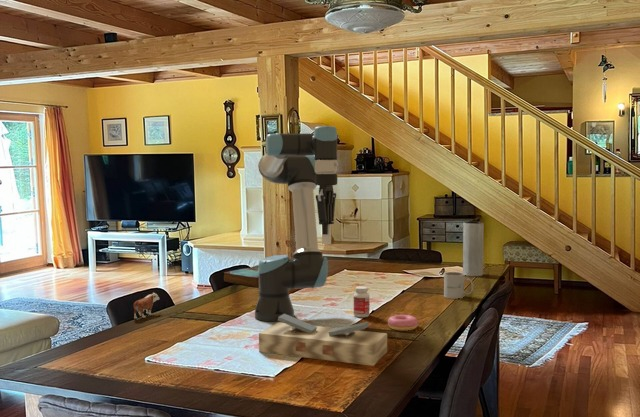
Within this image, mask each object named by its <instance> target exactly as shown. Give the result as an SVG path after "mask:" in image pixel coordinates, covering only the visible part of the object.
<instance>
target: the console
mask: <svg viewBox="0 0 640 417" xmlns="http://www.w3.org/2000/svg"><path fill="white" fill-rule="evenodd" d="M315 326H316V327H317V329H316V331H315V332H313V333H312V334H309V333H307V332H304V331H302V330H300V329H297V328H296V329H294V330H293V329H292V326H290V325H288V324H285V323H283V322H281V321H277V322H276V323H275V324H273V325H271V326H269V327H267V328H265V329H264V330H262V331H260V332H259V333H258V352H259V353H265V354H274V355H283V356H291V357H300V358H307V359H315V360H322V361H332V362H340V363H347V364H355V365H356V364H357V365H362V366H363V365H364V366H370V367H374V366H375V365H376V364H377V363H378V362H379V361H380V360H381V359H382V358H383V357H384V356H385V355H386V354H387V353H388V333H387V332H380V331H379V332H376V331H368V330H357V331H352V332H351V333H350V334H349V335H345V333H343V334H338V335H333V336H329V333H328V332H330V331H331V330H332V329H335V328H336V327H329V326H319V325H315Z"/></svg>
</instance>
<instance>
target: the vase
mask: <svg viewBox="0 0 640 417" xmlns="http://www.w3.org/2000/svg"><path fill="white" fill-rule="evenodd" d="M462 224H463V225H462V227H463V228H462V230H463V231H462V233H463V234H462V273H464V276H465V275H466V276H465V277H482V276H483V275H484V230H485V229H484V222H483V221H476V220H474V221H470V220H469V221H464V222H463V223H462Z"/></svg>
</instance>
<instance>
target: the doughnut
mask: <svg viewBox="0 0 640 417" xmlns="http://www.w3.org/2000/svg"><path fill="white" fill-rule="evenodd" d="M387 324H388V327H389V328H390V329H392V330H394V331H399V332H401V331H402V332H405V331H407V332H408V330H409V331H412V330H415V329H417V327H418V324H419V319H417V317H415V316H414V315H410V314H394V315H390V317H389V318H388V320H387Z"/></svg>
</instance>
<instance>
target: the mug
mask: <svg viewBox="0 0 640 417" xmlns="http://www.w3.org/2000/svg"><path fill="white" fill-rule="evenodd" d="M465 281H469V283H470V285H471V286H470V291H469V292H466V291H465ZM473 290H474V282H473V280H472V279H471V278H469V277H465V275H464V273H463V272H458V271H449V272H448V271H447V272H444V273H443V298H447V299H453V300H454V299H456V300H458V298H460V299H464V298H465V295H466V296H468V295H470V294H472V293H473ZM463 297H464V298H463Z"/></svg>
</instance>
